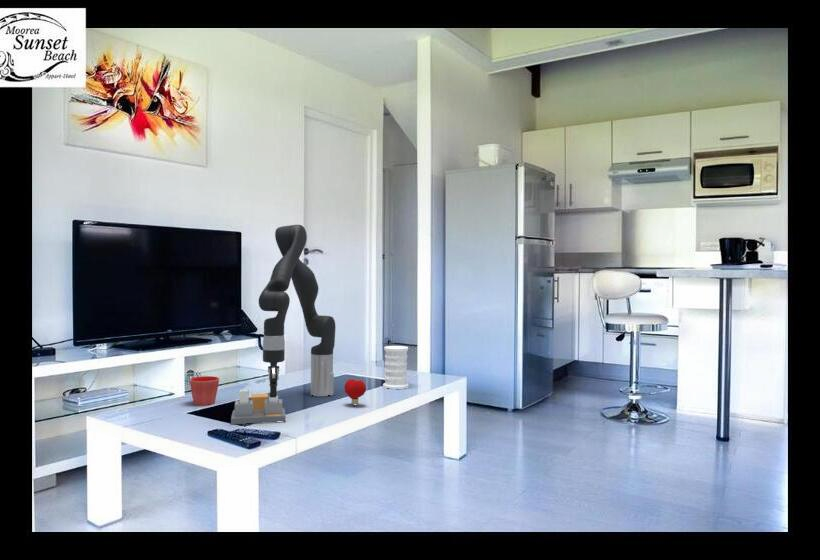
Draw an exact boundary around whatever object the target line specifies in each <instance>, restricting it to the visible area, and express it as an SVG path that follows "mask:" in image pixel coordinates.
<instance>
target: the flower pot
mask: <svg viewBox="0 0 820 560" xmlns="http://www.w3.org/2000/svg"><path fill="white" fill-rule="evenodd" d="M219 383H220V378H219V377H217V376H213V375H212V376H211V375H209V376H208V375H207V376H206V375H205V376H203V375H202V376H195V377H191V378H190V379H189V385H190V386H189V387H190V391H191V395H192V396H191V397H192V401H193V404H194V405H195V404H196V405H195V406H209V405H208V404H211V405H213V403H214V404H215V403H216V398H217V393H218V389H219Z"/></svg>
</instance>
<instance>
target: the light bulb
mask: <svg viewBox="0 0 820 560" xmlns="http://www.w3.org/2000/svg"><path fill="white" fill-rule="evenodd" d="M366 389H367V387H366V383H365V382H364V381H363V380H361V379H359V380H356V379H354V378H350V379H347V380H346V382H345V384H344V392H345V393H346V395H347V397H348V398H349V399H351V404H352V405H353V404H357V405H358V404H359V398H360V397H362V396H364V395H365V393H366Z"/></svg>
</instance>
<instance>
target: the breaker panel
mask: <svg viewBox="0 0 820 560" xmlns="http://www.w3.org/2000/svg"><path fill="white" fill-rule="evenodd" d="M239 401H240V400H235V402H234V409H233V410H232V413H231V418H230V425H247V424H246V423H253V424H263V423H262V422H275V423H278V422H277V421H285V422H286V410H285V409H286V408H284V407H283V399H282V398H281V399H280V398H278V402H272V403H269V399H268V400H265V409H253V400H251V399H249V403H246V404H239Z"/></svg>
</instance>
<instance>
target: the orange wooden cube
mask: <svg viewBox="0 0 820 560" xmlns="http://www.w3.org/2000/svg"><path fill="white" fill-rule="evenodd" d="M250 400H253V409H265V400H269V394H268V392H267V393H266V392H265V393H251V394H250Z"/></svg>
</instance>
